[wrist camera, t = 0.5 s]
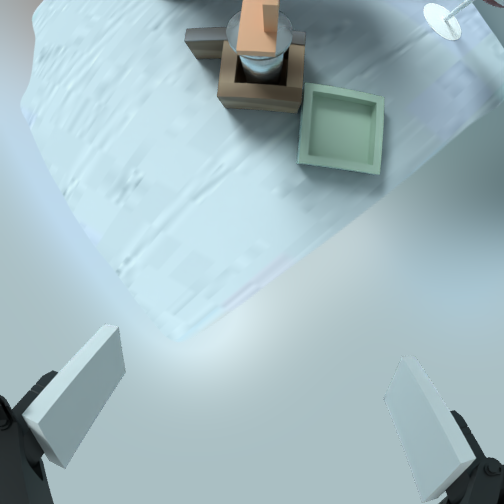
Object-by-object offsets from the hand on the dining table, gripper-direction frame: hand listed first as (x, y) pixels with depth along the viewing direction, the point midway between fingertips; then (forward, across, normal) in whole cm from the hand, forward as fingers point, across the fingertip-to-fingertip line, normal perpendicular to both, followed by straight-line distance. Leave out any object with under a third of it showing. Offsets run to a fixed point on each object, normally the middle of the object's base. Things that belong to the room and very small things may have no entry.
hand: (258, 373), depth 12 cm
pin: (+26, -2, +21) cm, 34 cm away
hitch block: (+27, -5, +21) cm, 35 cm away
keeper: (+21, -3, +21) cm, 30 cm away
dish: (+27, +8, +15) cm, 32 cm away
